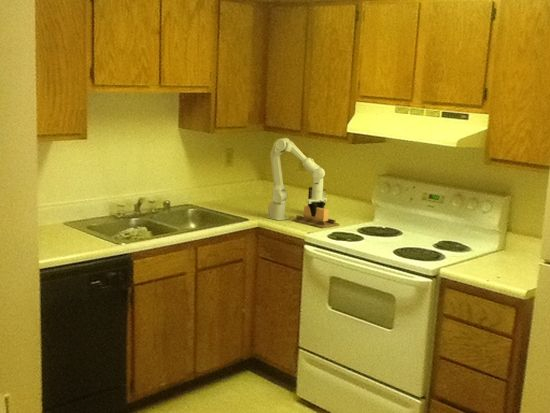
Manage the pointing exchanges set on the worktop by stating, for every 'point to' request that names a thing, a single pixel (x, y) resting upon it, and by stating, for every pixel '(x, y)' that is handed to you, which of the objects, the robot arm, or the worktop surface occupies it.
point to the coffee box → (311, 194)
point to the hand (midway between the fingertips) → (315, 215)
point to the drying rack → (316, 222)
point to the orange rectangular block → (317, 213)
